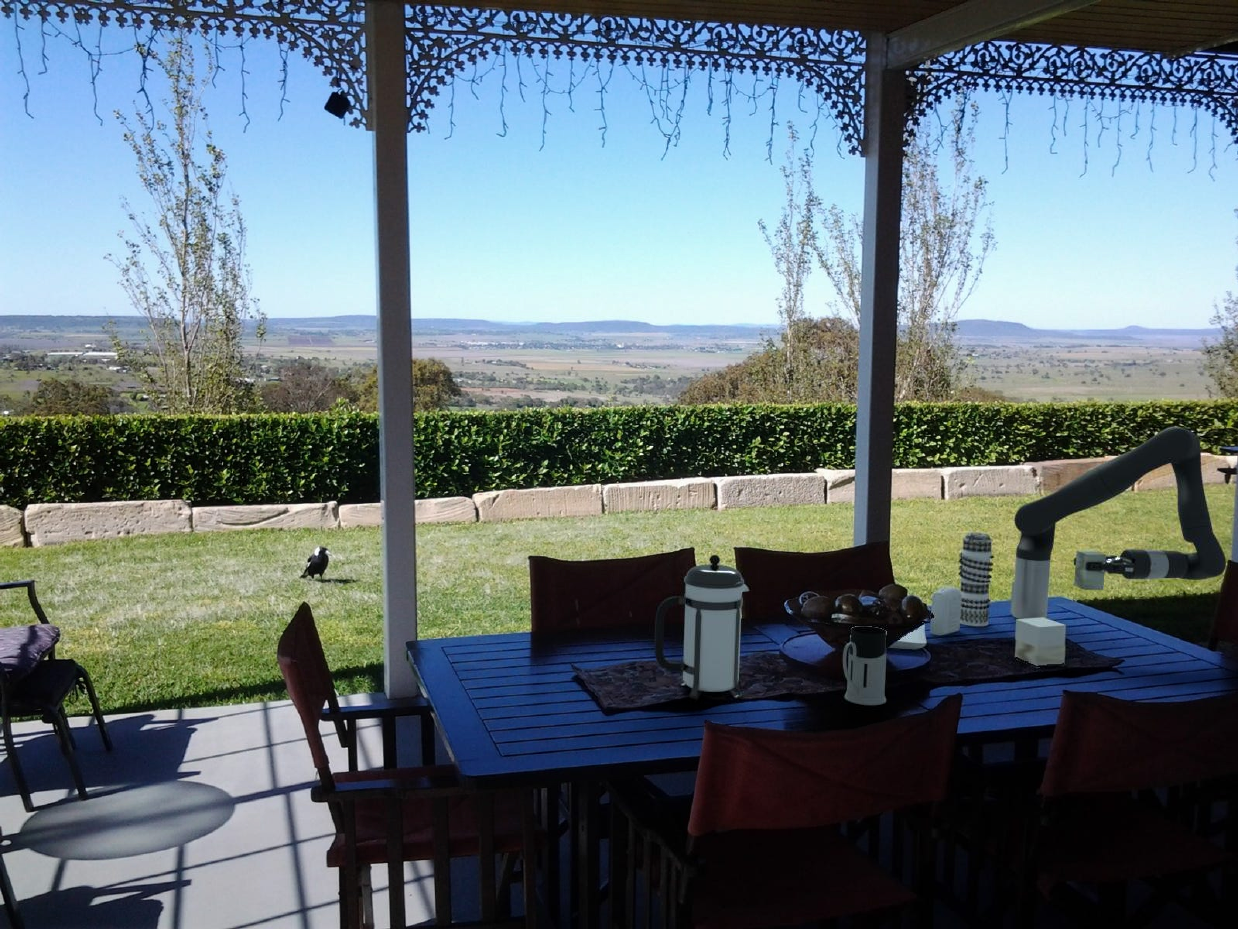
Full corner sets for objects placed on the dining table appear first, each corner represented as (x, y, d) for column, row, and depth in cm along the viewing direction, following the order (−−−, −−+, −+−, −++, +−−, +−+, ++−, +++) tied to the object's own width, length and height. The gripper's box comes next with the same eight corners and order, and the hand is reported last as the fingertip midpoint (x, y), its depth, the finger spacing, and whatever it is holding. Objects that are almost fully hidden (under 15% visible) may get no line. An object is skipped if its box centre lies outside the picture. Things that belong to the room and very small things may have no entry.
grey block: (1015, 639, 270) (1016, 619, 269) (1041, 637, 272) (1042, 617, 272) (1037, 647, 262) (1039, 627, 262) (1064, 645, 265) (1065, 625, 265)
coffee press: (698, 675, 249) (702, 545, 246) (758, 690, 239) (763, 555, 236) (651, 693, 236) (655, 555, 233) (712, 709, 226) (717, 566, 223)
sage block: (1074, 585, 279) (1076, 550, 278) (1092, 585, 280) (1095, 550, 279) (1084, 589, 274) (1087, 554, 273) (1103, 590, 275) (1106, 554, 274)
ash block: (1014, 659, 270) (1016, 639, 270) (1041, 657, 273) (1043, 637, 272) (1036, 668, 263) (1037, 647, 262) (1064, 666, 265) (1065, 645, 265)
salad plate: (839, 648, 277) (839, 635, 276) (842, 628, 297) (843, 616, 297) (926, 656, 272) (927, 642, 271) (923, 635, 292) (924, 622, 292)
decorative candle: (967, 616, 312) (972, 530, 310) (996, 623, 305) (1002, 534, 303) (948, 621, 306) (953, 532, 304) (978, 628, 299) (983, 537, 297)
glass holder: (893, 698, 236) (897, 630, 235) (860, 714, 226) (863, 642, 224) (857, 689, 242) (860, 623, 240) (823, 704, 231) (826, 634, 230)
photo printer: (947, 627, 299) (950, 583, 298) (961, 630, 296) (964, 585, 295) (927, 633, 292) (930, 588, 291) (942, 637, 289) (944, 591, 288)
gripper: (1128, 544, 284) (1066, 544, 283) (1162, 555, 270) (1096, 554, 268) (1126, 573, 285) (1064, 572, 283) (1159, 585, 271) (1094, 585, 269)
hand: (1080, 564), depth 276 cm, fingers closed on sage block, 5 cm apart
